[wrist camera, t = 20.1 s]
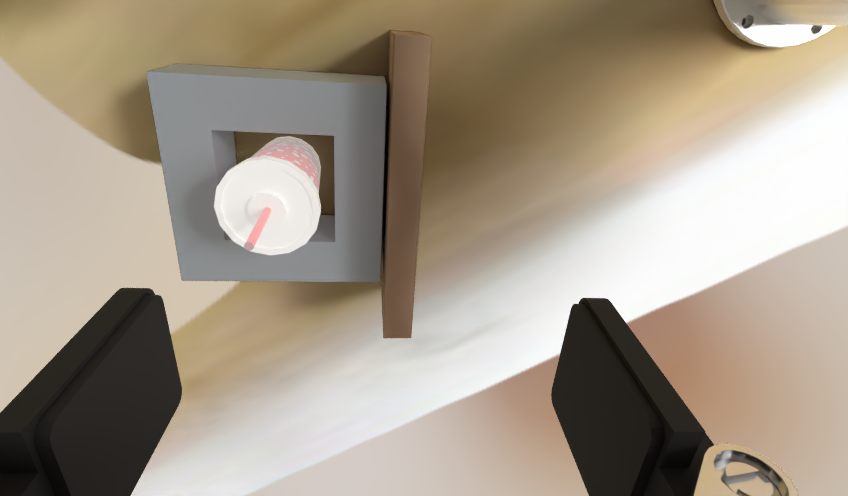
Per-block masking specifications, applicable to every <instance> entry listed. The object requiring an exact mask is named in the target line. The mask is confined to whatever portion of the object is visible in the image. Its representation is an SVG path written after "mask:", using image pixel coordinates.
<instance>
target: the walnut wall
mask: <svg viewBox="0 0 848 496" xmlns="http://www.w3.org/2000/svg"><path fill="white" fill-rule="evenodd" d="M431 44H432V37H430V36H427V35H425V34H422V33H419V32H408V31H394V30H390V37H389V66H388V96H387V125H386V154H385V183H384V212H383V242H382V271H381V292H382V315H383V338H411V333H412V319H413V304H414V290H415V275H416V261H417V246H418V232H419V217H420V203H421V189H422V174H423V160H424V145H425V131H426V116H427V102H428V88H429V73H430V59H431Z"/></svg>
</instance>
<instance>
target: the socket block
mask: <svg viewBox="0 0 848 496" xmlns="http://www.w3.org/2000/svg"><path fill="white" fill-rule="evenodd" d="M146 74H147V80H148V86H149V92H150V98H151V104H152V109H153V115H154V121H155V127H156V133H157V139H158V144H159V150H160V156H161V162H162V168H163V174H164V179H165V185H166V191H167V196H168V203H169V208H170V215H171V220H172V226H173V232H174V238H175V244H176V250H177V255H178V261H179V267H180V273H181V279H182V280H183V281H284V282H380V270H381V240H382V210H383V180H384V149H385V119H386V89H387V85H386V81H385V77H384V76H373V75H357V74H340V73H324V72H307V71H291V70H274V69H258V68H241V67H225V66H208V65H192V64H173V65H169V66H166V67H162V68H158V69H154V70H150V71H146ZM234 131H239V132H262V133H284V134H306V135H328V136H334V182H335V215H320V217H319V222H318V226H317V230H316V231H315V233H314V234H313V235H312V236H311V238H310V239H309V240H308V242H307V243H306V244H305V245H303V246H301V247H299V248H298V249H296V250H294V251H292V252H290V253H285V254H278V255H265V254H260V253H256V252H251V251H248V250H246V249H245V248H244V247H242V246H240V245H239V244H237V243H235V242H234V241H232V240H231V238H230V237H229V236H228V235H227V233H226V232H225V231H224V230H223V229H222V227H221V226H220V225H219V221H218V218H217V215H216V212H215V209H214V202H215V194H216V188H217V186H218V185H219V183H220V182H221V180H222V179H223V177H224V176H225V174H226V173H227V171H228V170H230V169H231V168H232V167H234V166H236V165H237V160H236V151H235V141H234Z"/></svg>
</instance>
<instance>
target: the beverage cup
mask: <svg viewBox="0 0 848 496" xmlns="http://www.w3.org/2000/svg"><path fill="white" fill-rule="evenodd" d="M320 174H321V165H320V161H319V156H318V155H317V153H316V152H315V150H314V149H313V147H312V146H310V145H309V144H308V143H306V142H305V141H303V140H302V139H299V138H295V137H291V136H286V137H278V138H276V139H274V140H272V141H271V142H269V143H267V144H266V145H265V146H264V147H262V148H261V149H260V150H259V151H258V152H256V153H255V154H254V155H253V156H252V157H251V158H248V159H246V160H244V161H242V162H241V163H239V164H237V165H236V166H234V167H232V168H231V169H230V170H228V171H227V173H226V174H225V176H224V177H223V179H222V180H221V182H220V183H219V185H218V186H217V188H216V194H215V202H214V209H215V212H216V215H217V218H218V221H219V225H220V226H221V227H222V229H223V230H224V231H225V232H226V233H227V235H228V236H229V237H230V238H231V240H232V241H234V242H235V243H237V244H239V245H240V246H242V247H244V248H245V249H246V250H248V251H251V252H256V253H260V254H265V255H278V254H285V253H290V252H292V251H294V250H296V249H298V248H299V247H301V246H303V245H305V244H306V243H307V242H308V240H309V239H310V238H311V236H312V235H313V234H314V233H315V231H316V230H317V226H318V222H319V217H320V213H321V204H320V199H319V184H320Z"/></svg>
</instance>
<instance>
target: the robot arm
mask: <svg viewBox="0 0 848 496" xmlns="http://www.w3.org/2000/svg"><path fill="white" fill-rule="evenodd" d="M714 4H715V6H716V9H717V11H718V14H719V16H720V18H721V20H722V21H723V22H724V24H725V25H726V27H727V28H728V29H729V30H730V31H731V32H732V33H733V34H734V35H736V36H737V37H738V38H739V39H741V40H743V41H745V42H748V43H750V44H752V45H757V46H762V47H774V48H784V47H791V46H797V45H800V44H803V43H806V42H809V41H812V40H814V39H816V38H817V37H819V36H821V35H823V34H825V33H827V32H829V31H830V30H831V29H833V28H834V27H835V26H848V0H714ZM181 395H182V387H181V382H180V377H179V372H178V368H177V363H176V359H175V354H174V349H173V345H172V340H171V335H170V331H169V326H168V321H167V317H166V312H165V307H164V303H163V299H162V298H161V296H159V295H155V294H154V292H153V290H151V289H149V288H121V289H119V290H118V291H117V292H116V293H115V294H114V295H113V296H112V297H111V298H110V300H108V301H107V302H106V303H105V304H104V306H103V307H102V308H101V309H100V310H99V311H98V312H97V313H96V314H95V315H94V316H93V317H92V318H91V319H90V320H89V321H88V322H87V323H86V324H85V325H84V326H83V327H82V328H81V330H79V332H78V333H77V334H76V335H75V336H74V337H73V338H72V339H71V340H70V341H69V342H68V343H67V344H66V345H65V346H64V347H63V348H62V349H61V350H60V352H59V353H57V354H56V355H55V357H54V358H53V359H52V360H51V361H50V362H49V363H48V364H47V365H46V366H45V367H44V368H43V369H42V370H41V371H40V372H39V373H38V374H37V375H36V376H35V377H34V379H33V380H32V381H31V382H30V383H29V384H28V385H27V386H26V387H25V388H24V389H23V390H22V391H21V392H20V393H19V394H18V395H17V396H16V397H15V398H14V399H13V400H12V401H11V402H10V403H9V404H8V406H7V407H6V408H5V409H4V410H3V411H2V412H1V413H0V496H130V495H131V493H132V492H133V490H134V488H135V486H136V484H137V482H138V480H139V478H140V477H141V475H142V473H143V471H144V469H145V467H146V465H147V463H148V462H149V460H150V458H151V456H152V454H153V452H154V450H155V448H156V447H157V445H158V443H159V441H160V439H161V437H162V435H163V433H164V432H165V430H166V428H167V426H168V424H169V422H170V420H171V418H172V417H173V415H174V413H175V411H176V409H177V407H178V405H179V403H180V400H181ZM551 395H552V404H553V407H554V409H555V412H556V414H557V417H558V419H559V422H560V424H561V427H562V429H563V432H564V434H565V437H566V439H567V442H568V444H569V447H570V449H571V452H572V454H573V457H574V459H575V462H576V464H577V467H578V469H579V471H580V474H581V477H582V479H583V482H584V484H585V487H586V489H587V492H588V494H589V496H799V493H798V490H797V488H796V486H795V485H794V483H793V481H792V480H791V478H790V477H789V476H788V475H787V474H786V473H785V472H784V471H783V470H782V469H781V468H780V467H779V466H777V465H776V464H775V463H773V462H772V461H771V460H769V459H768V458H767V457H765V456H763V455H761V454H759V453H757V452H756V451H754V450H751V449H748V448H746V447H743V446H740V445H734V444H728V443H727V444H726V443H725V444H716V445H714V444H713V443H712V441H711V440H710V439H709V437H708V436H707V435H706V433H705V431H704V429H703V428H702V426H701V425H700V424H699V422H698V421H697V419H696V418H695V417H694V416H693V414H692V413H691V411H690V410H689V409H688V407H687V406H686V405H685V403H684V402H683V400H682V399H681V398H680V396H679V395H678V394H677V392H676V391H675V389H674V388H673V387H672V385H671V384H670V383H669V381H668V380H667V379H666V377H665V376H664V374H663V373H662V372H661V370H660V369H659V368H658V366H657V365H656V364H655V362H654V361H653V359H652V358H651V357H650V355H649V354H648V353H647V351H646V350H645V349H644V347H643V346H642V344H641V343H640V342H639V340H638V339H637V338H636V336H635V335H634V333H633V332H632V331H631V329H630V328H629V327H628V325H627V324H626V323H625V321H624V320H623V318H622V317H621V316H620V314H619V313H618V312H617V310H616V309H615V307H614V306H613V305H612V303H611V302H610V301H609V300H608V299H605V298H582V299H581V300H580V302H579V304H574V305H573V306H572V308H571V312H570V316H569V320H568V324H567V328H566V333H565V337H564V341H563V345H562V349H561V353H560V358H559V362H558V366H557V370H556V375H555V379H554V383H553V387H552V394H551Z"/></svg>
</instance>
